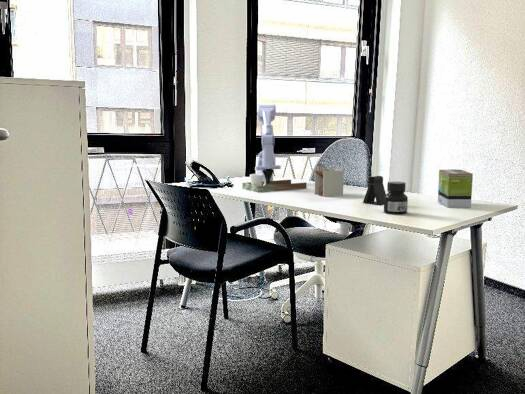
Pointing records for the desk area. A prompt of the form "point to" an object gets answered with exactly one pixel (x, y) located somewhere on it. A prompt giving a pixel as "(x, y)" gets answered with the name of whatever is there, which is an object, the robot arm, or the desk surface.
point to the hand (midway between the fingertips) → (267, 183)
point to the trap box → (274, 186)
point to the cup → (257, 179)
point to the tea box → (455, 188)
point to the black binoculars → (375, 191)
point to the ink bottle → (395, 198)
